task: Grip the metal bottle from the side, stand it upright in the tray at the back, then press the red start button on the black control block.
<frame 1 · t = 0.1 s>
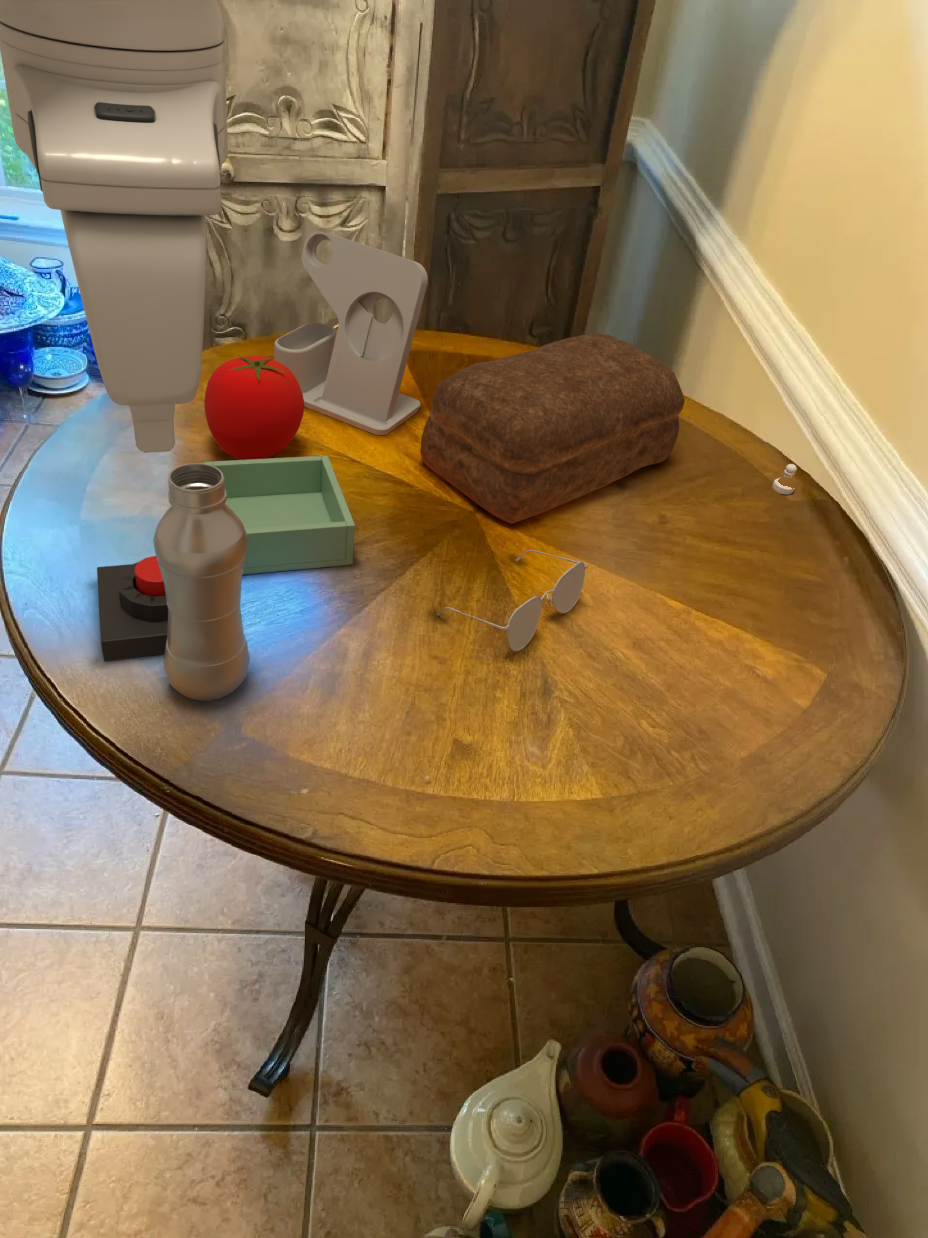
hand: (148, 397, 48), 31 cm above the table, tool pointing down, fingers open, 8 cm apart
bread: (546, 463, 110), on the table
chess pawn: (781, 490, 113), on the table
start button: (157, 576, 78), point 4 cm above the table, slide at 0.1 cm
tray: (277, 532, 92), on the table
tomato: (253, 450, 104), on the table
phone holder: (345, 400, 115), on the table
sunglasses: (511, 608, 89), on the table
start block: (162, 615, 81), on the table
metal bottle: (208, 684, 76), on the table
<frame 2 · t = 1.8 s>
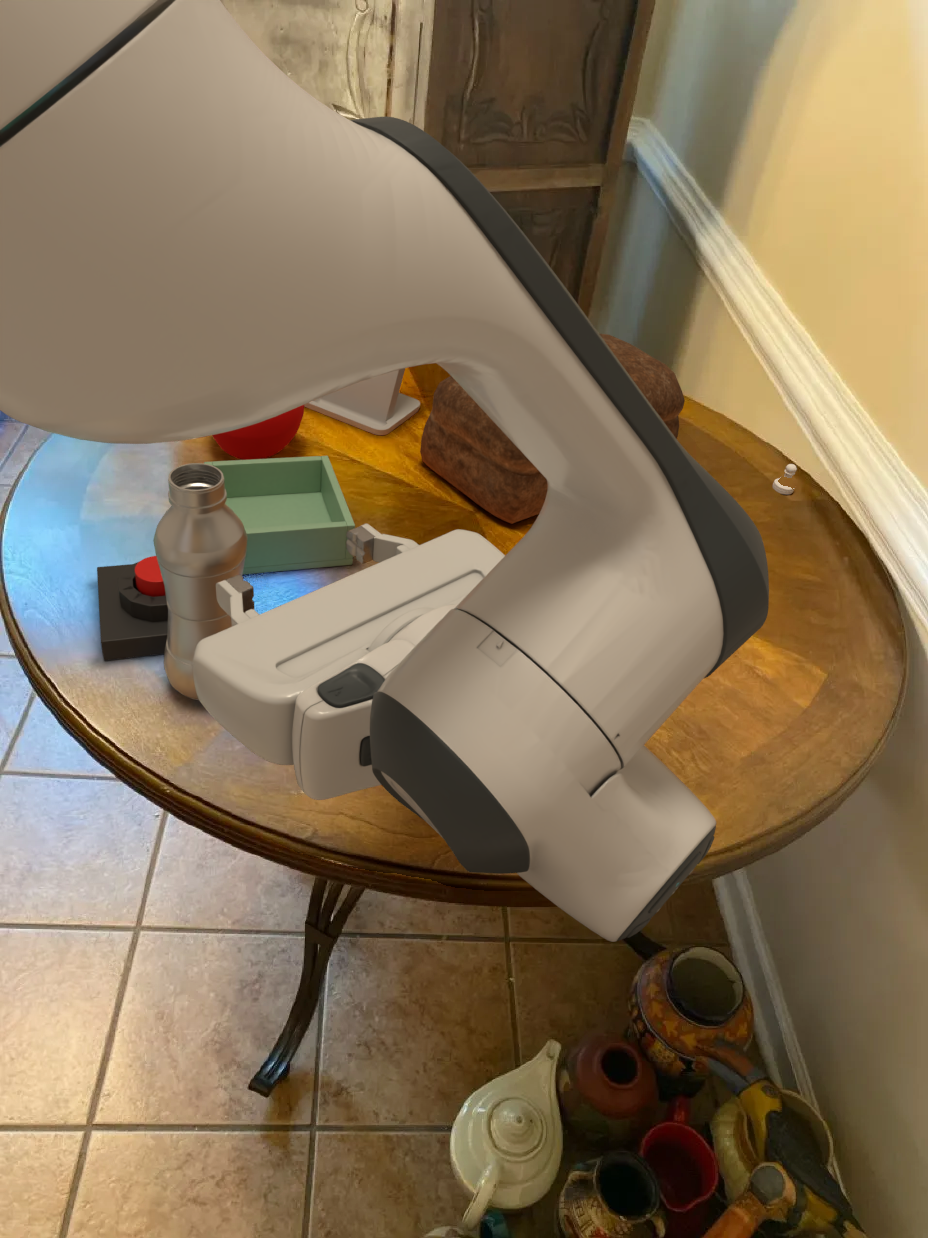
hand: (293, 560, 56), 21 cm above the table, tool horizontal, fingers open, 8 cm apart
nothing on the table moved.
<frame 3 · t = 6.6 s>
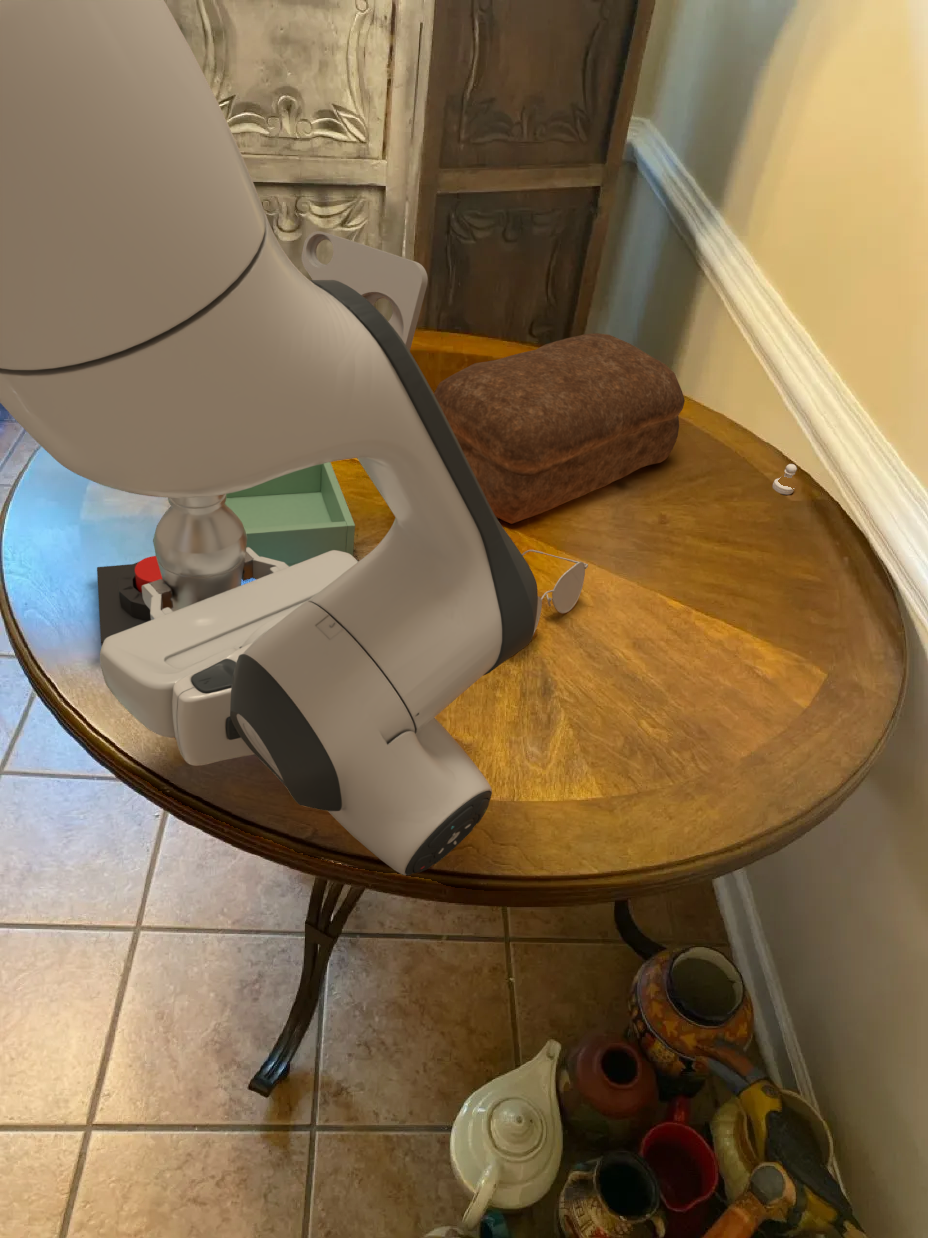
hand: (195, 572, 69), 11 cm above the table, tool horizontal, fingers closed on metal bottle, 6 cm apart
metal bottle: (209, 684, 76), on the table, touching gripper
everything else where it was.
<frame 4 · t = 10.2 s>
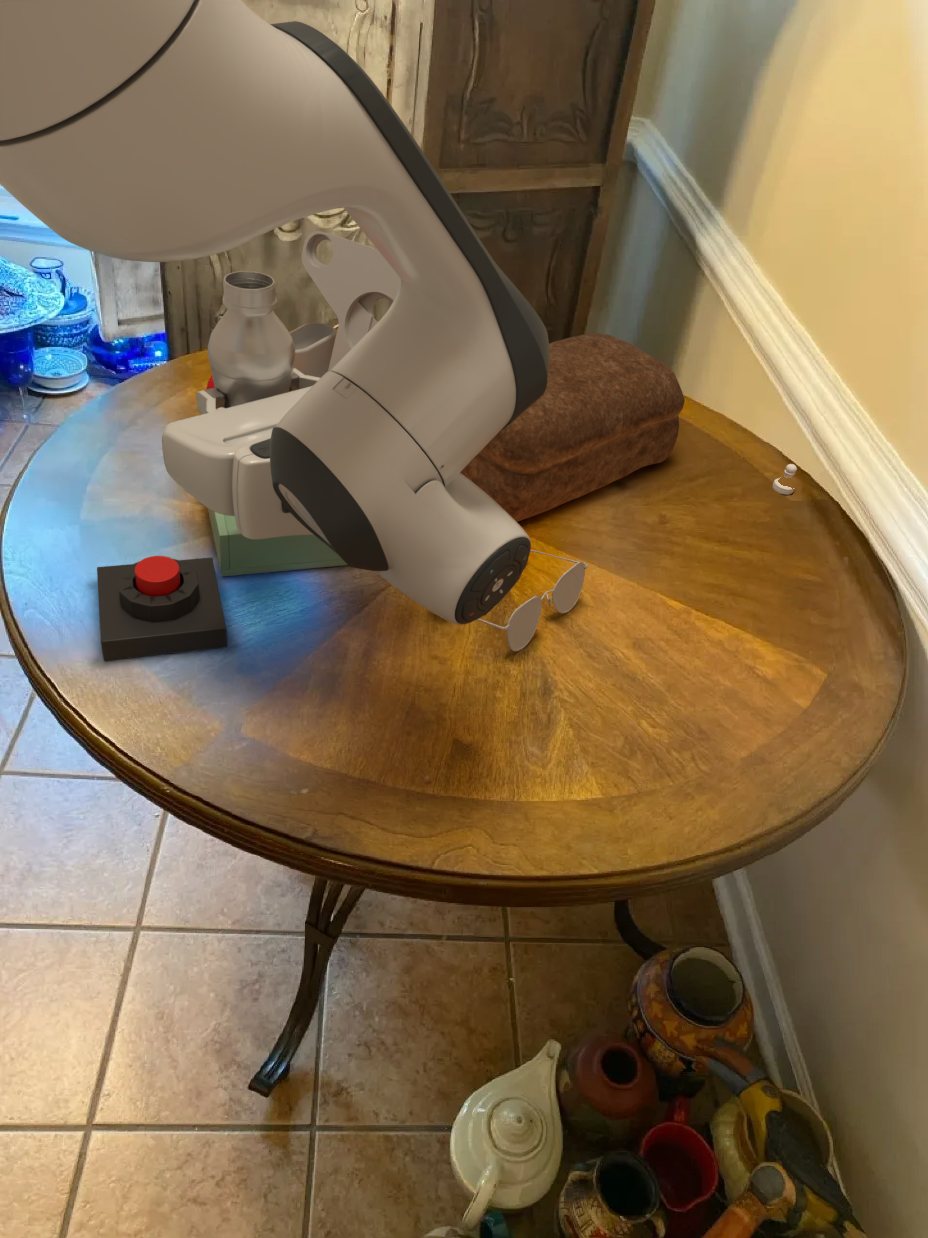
hand: (245, 387, 73), 20 cm above the table, tool horizontal, fingers closed on metal bottle, 6 cm apart
metal bottle: (254, 509, 80), point 9 cm above the table, touching gripper
everything else where it was.
when the fingers open (12 cm above the table, at t = 14.2 s): metal bottle stays where it is, resting on tray.
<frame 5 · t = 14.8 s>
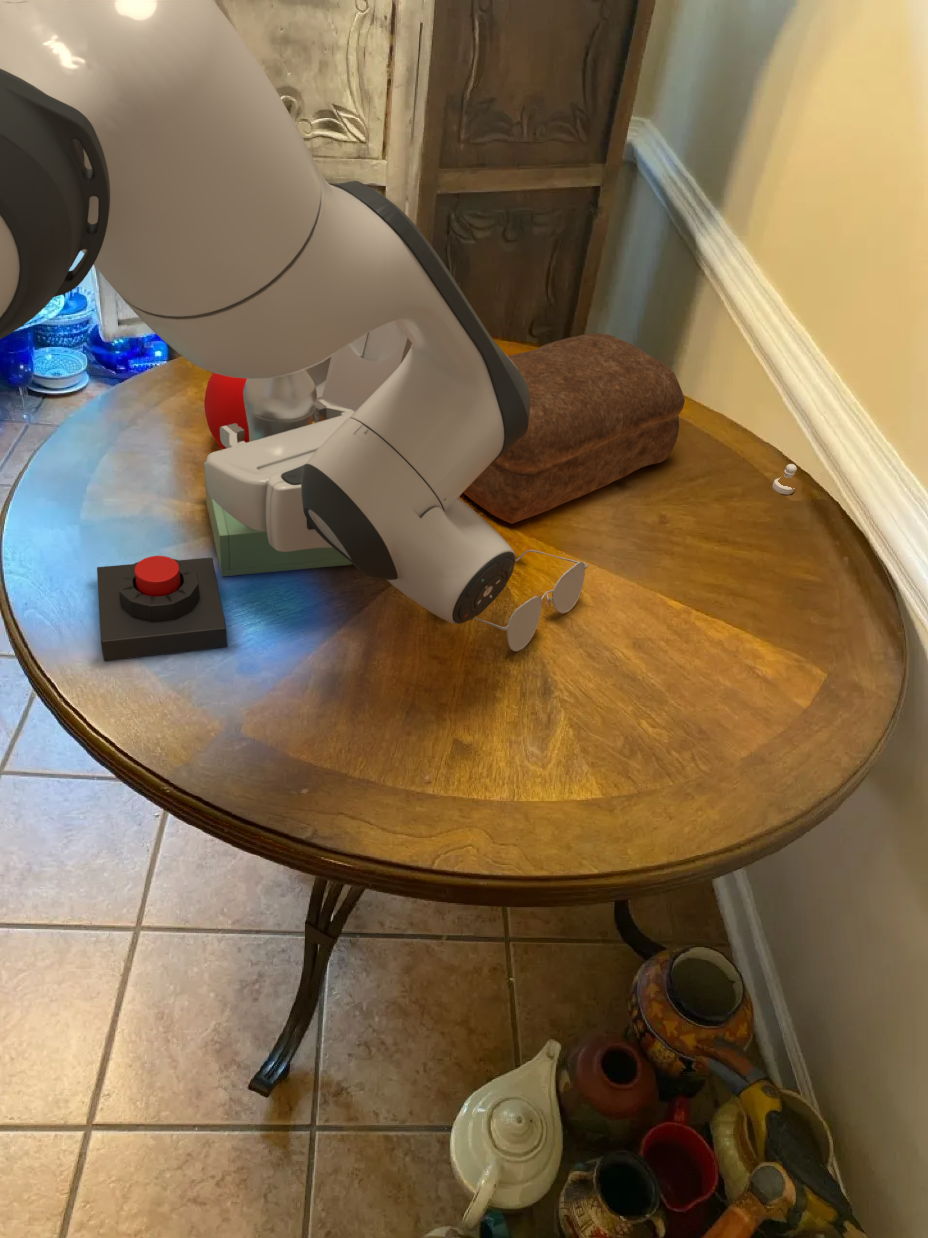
hand: (271, 419, 85), 12 cm above the table, tool horizontal, fingers open, 8 cm apart
metal bottle: (278, 527, 92), point 1 cm above the table, touching tray
everything else where it was.
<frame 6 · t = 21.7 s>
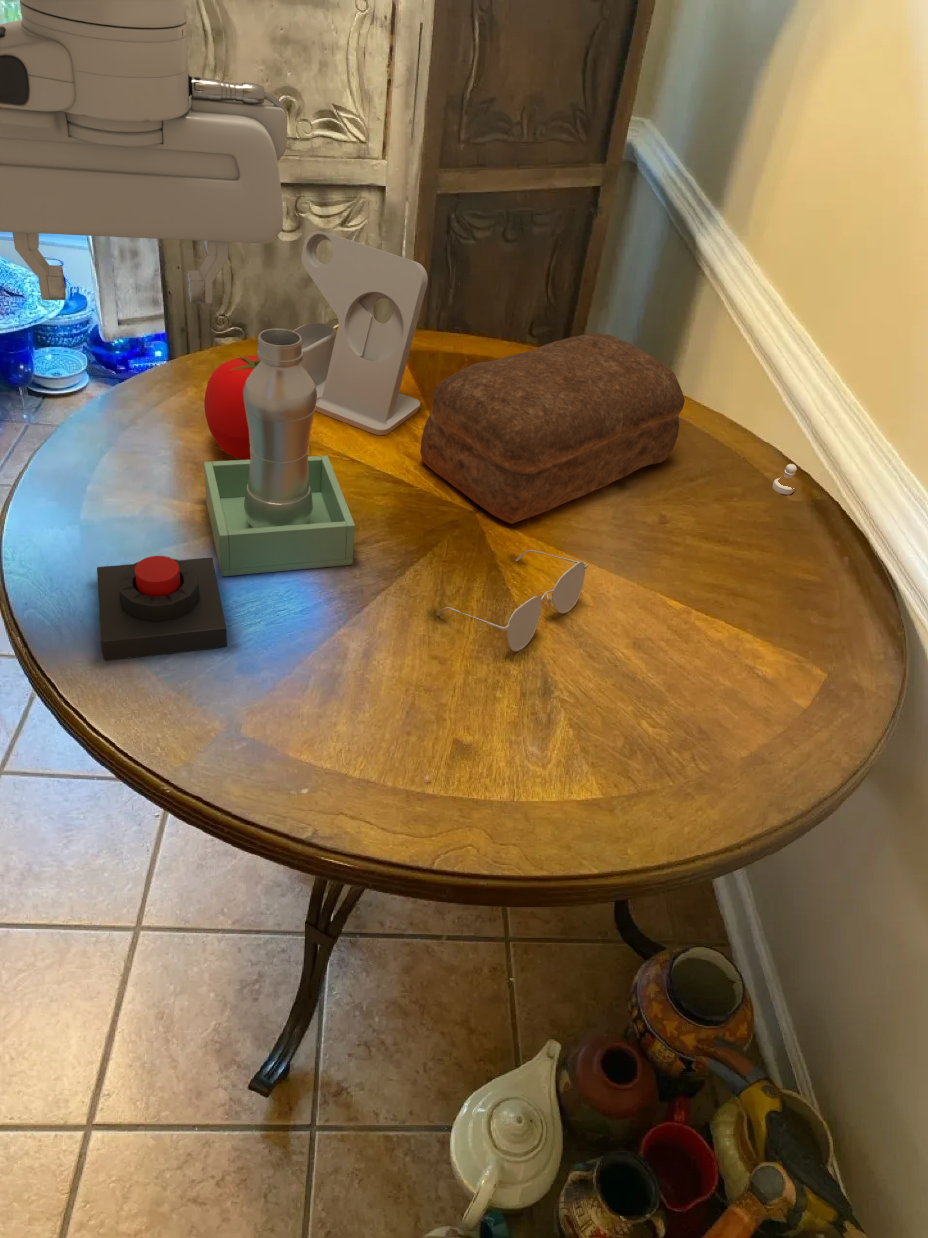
hand: (129, 298, 62), 29 cm above the table, tool pointing down, fingers open, 8 cm apart
nothing on the table moved.
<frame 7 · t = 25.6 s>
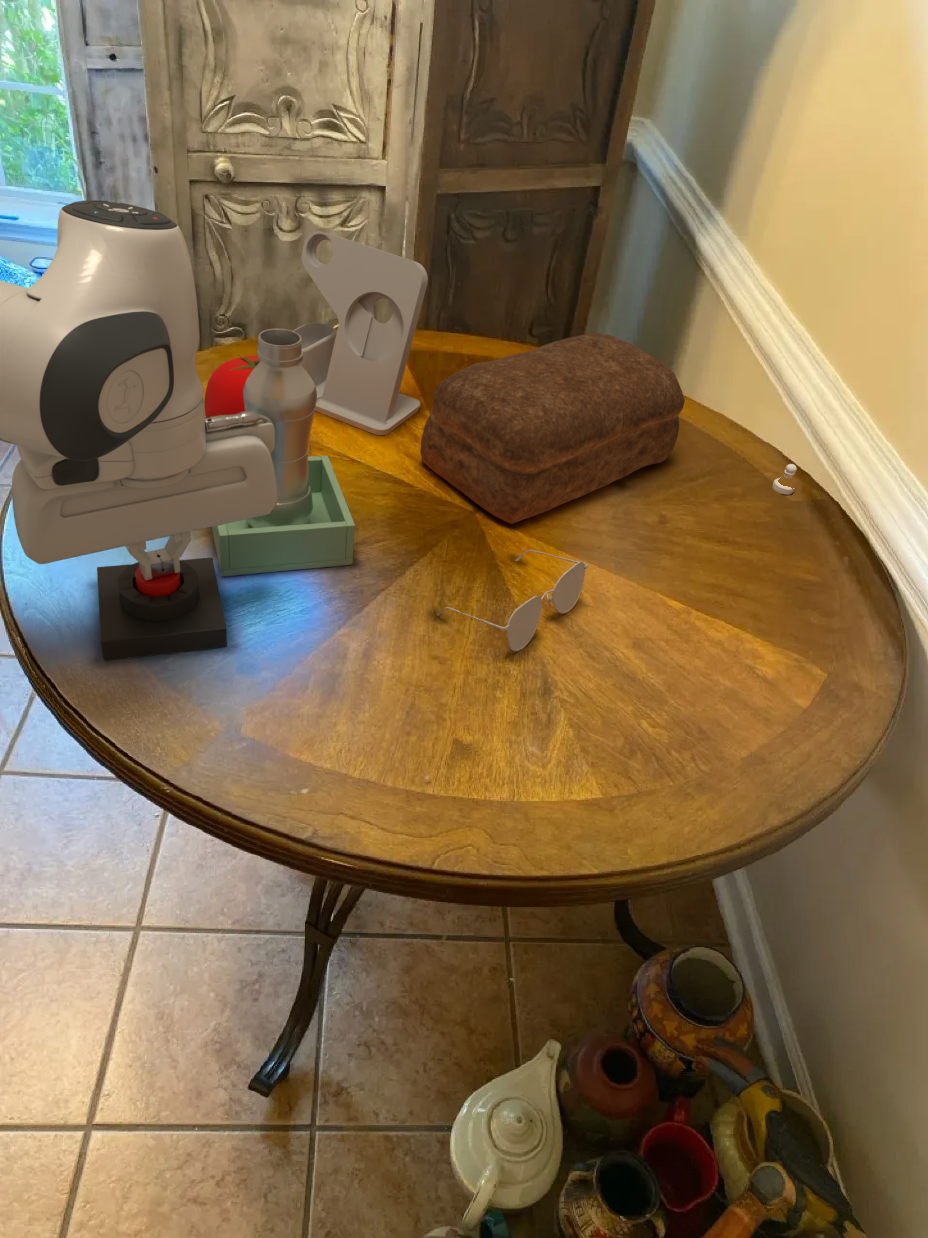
hand: (160, 572, 78), 5 cm above the table, tool pointing down, fingers closed, pressing on start button
start button: (158, 580, 78), point 4 cm above the table, slide at -0.4 cm, touching gripper
everything else where it was.
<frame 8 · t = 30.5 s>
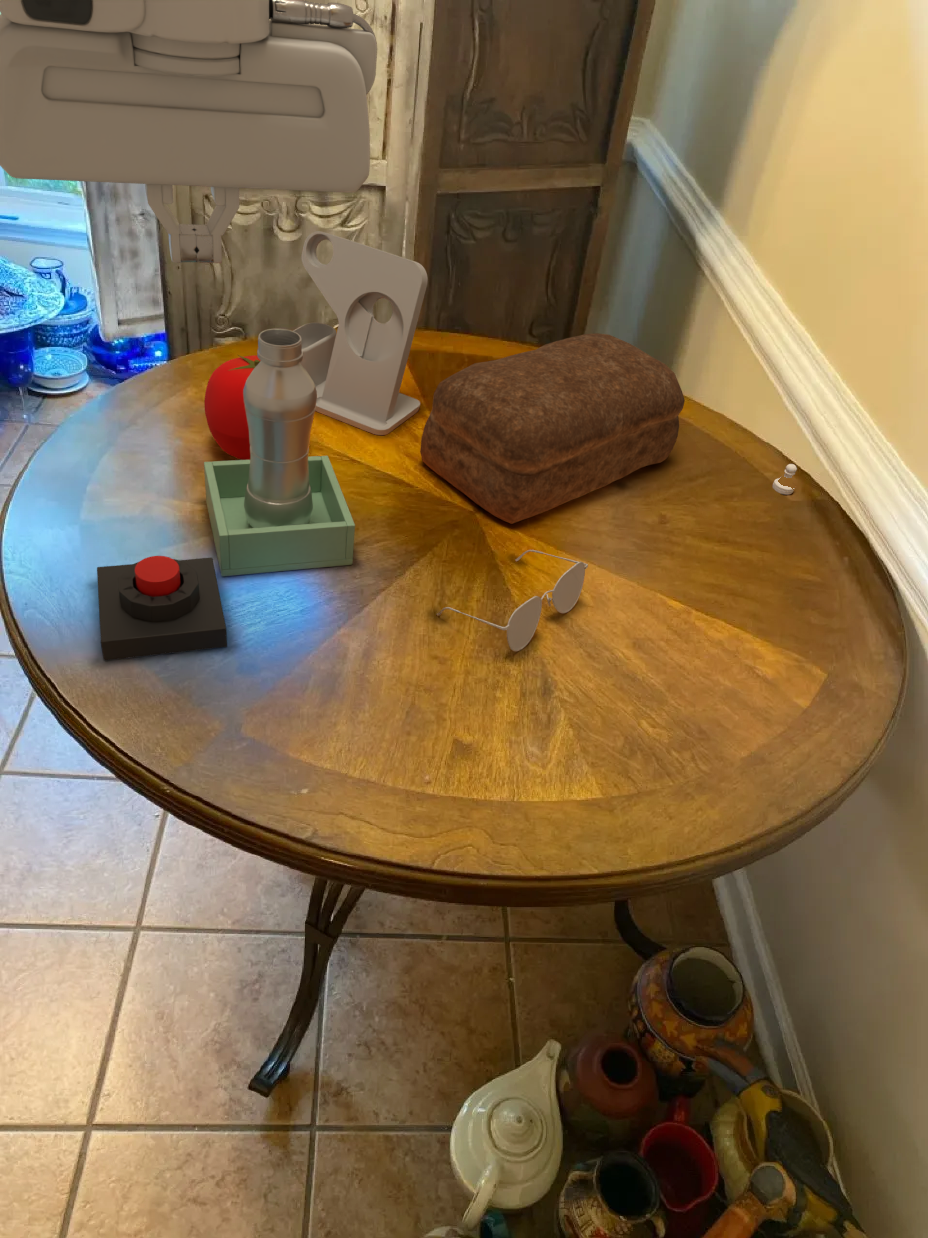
hand: (196, 259, 55), 34 cm above the table, tool pointing down, fingers closed
start button: (157, 576, 78), point 4 cm above the table, slide at 0.1 cm
everything else where it was.
at the end: metal bottle inside the target area in the tray (0.1 cm from its centre), point 0.6 cm above the tray's base; metal bottle tilted 0°; start button pushed in 1.1 cm at the most during the clip, back to where it started at the end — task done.
